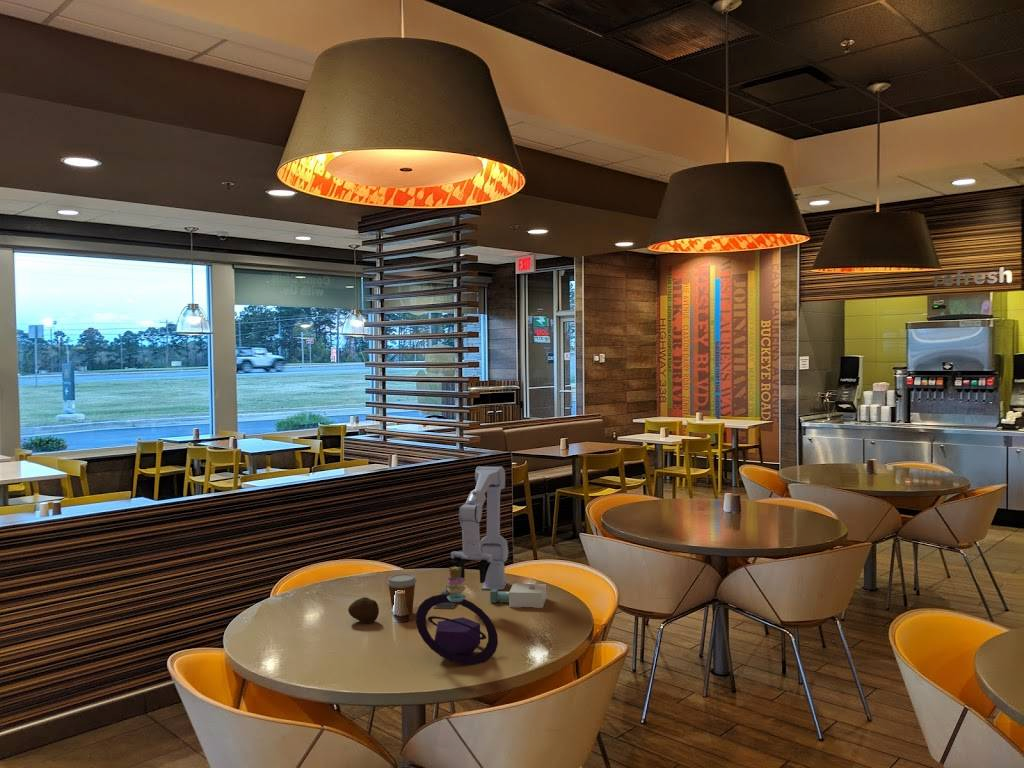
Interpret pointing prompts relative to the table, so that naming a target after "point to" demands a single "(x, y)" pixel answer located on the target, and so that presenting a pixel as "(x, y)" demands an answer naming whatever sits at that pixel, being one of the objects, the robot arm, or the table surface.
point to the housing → (527, 595)
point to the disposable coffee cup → (402, 588)
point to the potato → (364, 610)
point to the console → (445, 605)
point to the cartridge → (498, 596)
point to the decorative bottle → (457, 627)
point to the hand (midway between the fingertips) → (472, 581)
